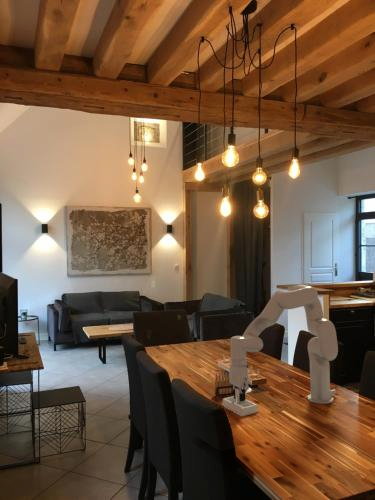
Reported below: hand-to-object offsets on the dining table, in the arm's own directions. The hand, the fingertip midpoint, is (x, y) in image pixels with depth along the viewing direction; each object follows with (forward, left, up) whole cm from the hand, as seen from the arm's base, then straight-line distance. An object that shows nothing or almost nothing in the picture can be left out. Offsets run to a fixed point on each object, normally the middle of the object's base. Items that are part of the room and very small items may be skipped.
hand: (239, 399), depth 208 cm
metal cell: (0, 0, -2) cm, 2 cm away
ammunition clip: (-5, -20, -5) cm, 21 cm away
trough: (0, 0, -5) cm, 5 cm away
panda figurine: (-17, -22, -5) cm, 28 cm away
